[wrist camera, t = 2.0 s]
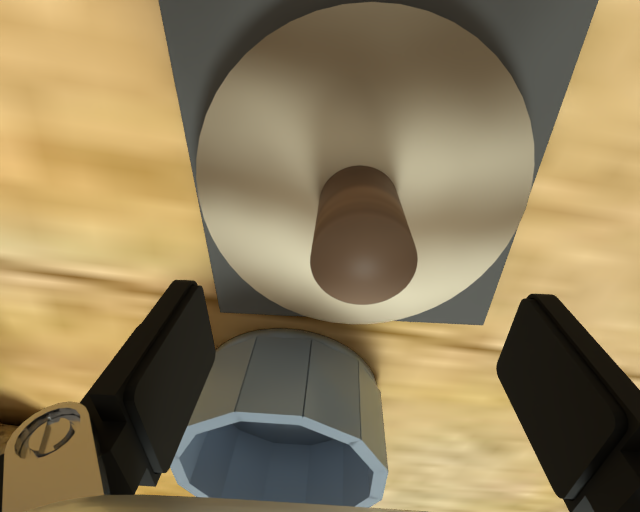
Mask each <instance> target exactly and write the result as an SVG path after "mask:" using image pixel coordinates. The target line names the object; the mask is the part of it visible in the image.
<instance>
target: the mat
mask: <svg viewBox="0 0 640 512" xmlns="http://www.w3.org/2000/svg"><path fill="white" fill-rule="evenodd" d="M364 2H381V3H393V4H402V5H406V6H410V7H414V8H418V9H422V10H426V11H429V12H432V13H434V14H436V15H439V16H441V17H443V18H446V19H448V20H450V21H452V22H454V23H456V24H457V25H459V26H460V27H462V28H463V29H465V30H467V31H468V32H470V33H471V34H473V35H474V36H476V37H477V38H478V39H479V40H480V41H481V42H482V43H483V44H484V45H486V46H487V47H488V48H489V49H490V50H491V51H492V52H493V53H494V54H495V55H496V56H497V57H498V59H499V60H500V61H501V63H502V64H503V65H504V67H505V68H506V69H507V70H508V72H509V73H510V74H511V76H512V78H513V80H514V82H515V84H516V85H517V87H518V89H519V91H520V93H521V95H522V97H523V100H524V103H525V106H526V109H527V112H528V115H529V118H530V121H531V127H532V133H533V139H534V173H533V180H532V186H533V183H534V180H535V178H536V175H537V172H538V169H539V166H540V164H541V161H542V158H543V155H544V152H545V149H546V147H547V144H548V141H549V138H550V135H551V133H552V130H553V127H554V124H555V121H556V119H557V116H558V113H559V110H560V107H561V104H562V102H563V99H564V96H565V93H566V90H567V88H568V85H569V82H570V79H571V76H572V73H573V71H574V68H575V65H576V62H577V59H578V57H579V54H580V51H581V48H582V45H583V42H584V40H585V37H586V34H587V31H588V28H589V26H590V23H591V20H592V17H593V14H594V11H595V9H596V6H597V3H598V0H159V5H160V10H161V15H162V20H163V25H164V31H165V36H166V41H167V46H168V51H169V56H170V61H171V66H172V71H173V76H174V81H175V86H176V91H177V96H178V101H179V106H180V111H181V116H182V121H183V126H184V131H185V136H186V141H187V146H188V152H189V157H190V162H191V167H192V172H193V177H194V182H195V187H196V192H197V197H198V189H197V181H196V157H197V151H198V144H199V137H200V133H201V130H202V127H203V123H204V120H205V116H206V114H207V111H208V109H209V107H210V105H211V103H212V100H213V98H214V96H215V94H216V92H217V91H218V89H219V88H220V86H221V84H222V83H223V81H224V80H225V78H226V77H227V75H228V74H229V72H230V71H231V70H232V69H233V68H234V67H235V65H236V64H237V63H238V62H239V61H240V60H241V59H242V57H243V56H244V55H245V54H246V53H247V52H248V51H249V50H251V49H252V48H253V47H254V46H255V45H257V44H258V43H259V42H260V41H261V40H263V39H264V38H265V37H266V36H268V35H269V34H271V33H272V32H274V31H276V30H277V29H279V28H281V27H282V26H284V25H285V24H287V23H289V22H291V21H293V20H295V19H298V18H300V17H303V16H305V15H307V14H310V13H312V12H314V11H318V10H322V9H326V8H330V7H334V6H338V5H342V4H351V3H364ZM531 189H532V188H531ZM530 192H531V191H530ZM198 202H199V197H198ZM199 207H200V212H201V217H202V222H203V227H204V232H205V237H206V242H207V247H208V252H209V257H210V262H211V267H212V272H213V278H214V283H215V288H216V293H217V298H218V303H219V308H220V312H224V313H244V314H265V315H285V316H304V315H301V314H298V313H296V312H293V311H291V310H288V309H286V308H284V307H282V306H280V305H278V304H276V303H275V302H273V301H271V300H269V299H268V298H266V297H265V296H263V295H262V294H260V293H259V292H258V291H256V290H255V289H254V288H253V287H251V286H250V285H249V284H248V283H247V282H246V281H244V280H243V279H242V278H241V277H240V276H239V275H238V273H237V272H236V271H235V270H234V269H233V268H232V267H231V266H230V265H229V263H228V262H227V260H226V259H225V258H224V256H223V255H222V254H221V252H220V251H219V249H218V247H217V245H216V244H215V242H214V240H213V238H212V236H211V234H210V232H209V230H208V227H207V225H206V222H205V220H204V217H203V213H202V209H201V206H200V202H199ZM518 226H519V225H518ZM516 231H517V230H516ZM516 231H515V233H514V235H513V236H512V238H511V240H510V241H509V243H508V245H507V246H506V248H505V249H504V250H503V252H502V253H501V254H500V256H499V257H498V258H497V260H496V261H495V262H494V263H493V264H492V265H491V266H490V267H489V268H488V269H487V270H486V271H485V273H484V274H483V275H482V276H481V277H479V278H478V279H477V280H476V281H475V282H473V283H472V284H471V285H470V286H469V287H467V288H466V289H465V290H463V291H462V292H460V293H459V294H457V295H456V296H454V297H453V298H451V299H449V300H447V301H446V302H444V303H442V304H440V305H438V306H436V307H434V308H432V309H429V310H427V311H424V312H422V313H419V314H417V315H413V316H410V317H406V318H403V319H399V320H394V321H407V322H427V323H448V324H468V325H483V324H484V321H485V318H486V316H487V313H488V310H489V307H490V304H491V302H492V299H493V296H494V293H495V290H496V287H497V285H498V282H499V279H500V276H501V273H502V271H503V268H504V265H505V262H506V259H507V256H508V254H509V251H510V248H511V245H512V242H513V240H514V237H515V234H516ZM305 317H307V316H305Z"/></svg>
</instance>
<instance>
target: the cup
mask: <svg viewBox="0 0 640 512" xmlns="http://www.w3.org/2000/svg"><path fill="white" fill-rule="evenodd" d="M170 468H171V470H172V472H173V475H174V477H175V479H176V481H177V484H178V485H180V486H181V487H183V488H184V489H186V490H187V491H189V492H190V493H192V494H193V495H195V496H196V497H207V498H224V499H240V500H256V501H273V502H289V503H305V504H321V505H336V506H351V507H366V508H369V507H371V506H372V505H374V504H376V503H377V502H379V501H381V500H382V497H383V493H384V488H385V484H386V479H387V475H388V464H387V454H386V443H385V433H384V423H383V412H382V402H381V392H380V390H379V389H378V387H377V383H376V380H375V377H374V374H373V373H372V371H371V369H370V368H369V366H368V365H367V364H366V363H365V361H364V360H363V359H362V358H361V357H360V356H358V355H357V354H356V353H355V352H354V351H352V350H351V349H349V348H348V347H346V346H345V345H343V344H341V343H339V342H337V341H335V340H333V339H330V338H328V337H325V336H322V335H319V334H316V333H312V332H307V331H302V330H295V329H264V330H257V331H252V332H248V333H245V334H242V335H239V336H237V337H235V338H233V339H230V340H229V341H227V342H226V343H224V344H223V345H221V346H220V347H219V348H218V349H217V350H216V351H215V361H214V363H213V366H212V368H211V371H210V373H209V375H208V378H207V380H206V383H205V385H204V387H203V390H202V392H201V395H200V397H199V399H198V402H197V404H196V407H195V409H194V411H193V414H192V416H191V418H190V421H189V423H188V426H187V428H186V430H185V433H184V435H183V438H182V440H181V442H180V445H179V447H178V450H177V452H176V454H175V457H174V459H173V461H172V464H171V466H170Z"/></svg>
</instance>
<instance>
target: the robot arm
mask: <svg viewBox="0 0 640 512" xmlns="http://www.w3.org/2000/svg"><path fill="white" fill-rule="evenodd" d="M214 361H215V346H214V341H213V336H212V331H211V326H210V321H209V316H208V311H207V306H206V301H205V296H204V291H203V288H202V286H197V283H196V282H195V281H190V280H174V281H173V282H172V283H171V285H170V286H169V287H168V289H167V290H166V291H165V293H164V294H163V295H162V297H161V298H160V299H159V301H158V302H157V303H156V305H155V306H154V307H153V309H152V310H151V311H150V313H149V314H148V315H147V317H146V318H145V319H144V321H143V322H142V323H141V324H140V325H139V326H138V327H137V328H136V329H135V330H134V332H133V333H132V334H131V336H130V337H129V338H128V340H127V341H126V342H125V344H124V345H123V346H122V348H121V349H120V350H119V352H118V353H117V354H116V356H115V357H114V358H113V360H112V361H111V362H110V364H109V365H108V366H107V367H106V369H105V370H104V371H103V373H102V374H101V375H100V377H99V378H98V379H97V381H96V382H95V383H94V385H93V386H92V387H91V389H90V390H89V391H88V393H87V394H86V395H85V397H84V398H83V399H82V401H81V402H80V403H77V402H63V403H58V404H55V405H52V406H49V407H46V408H44V409H43V410H41V411H39V412H37V413H35V414H34V415H32V416H31V417H30V418H28V419H27V420H25V421H24V422H23V423H22V424H21V425H20V426H19V427H18V428H17V429H16V430H15V431H14V432H13V434H12V435H11V437H10V439H9V440H8V442H7V445H6V448H5V452H4V454H2V455H0V512H426V511H411V510H396V509H381V508H366V507H351V506H336V505H321V504H305V503H289V502H273V501H256V500H240V499H224V498H207V497H183V496H160V495H134V494H135V492H136V490H137V488H138V486H139V485H140V486H155V487H156V485H157V482H158V480H159V478H160V475H161V473H166V472H167V471H168V470H169V468H170V466H171V464H172V461H173V459H174V457H175V454H176V452H177V450H178V447H179V445H180V442H181V440H182V438H183V435H184V433H185V430H186V428H187V426H188V423H189V421H190V418H191V416H192V414H193V411H194V409H195V407H196V404H197V402H198V399H199V397H200V395H201V392H202V390H203V387H204V385H205V383H206V380H207V378H208V375H209V373H210V371H211V368H212V366H213V363H214ZM496 369H497V375H498V378H499V380H500V382H501V384H502V386H503V388H504V390H505V392H506V394H507V396H508V398H509V400H510V402H511V404H512V406H513V408H514V410H515V412H516V414H517V417H518V419H519V421H520V423H521V425H522V427H523V429H524V431H525V433H526V435H527V437H528V439H529V441H530V443H531V445H532V447H533V449H534V451H535V454H536V456H537V458H538V460H539V462H540V464H541V466H542V468H543V470H544V472H545V474H546V476H547V478H548V480H549V482H550V484H551V486H552V488H553V490H554V492H555V494H556V495H557V496H558V497H559V498H562V499H563V500H564V502H565V504H566V506H567V508H568V510H569V512H640V390H639V389H638V388H637V387H636V385H635V384H634V383H633V382H632V381H631V380H630V379H629V378H628V376H627V375H626V374H625V373H624V372H623V371H622V370H621V369H620V367H619V366H618V365H617V364H616V363H615V362H614V361H613V360H612V358H611V357H610V356H609V355H608V354H607V353H606V352H605V351H604V349H603V348H602V347H601V346H600V345H599V344H598V343H597V342H596V341H595V339H594V338H593V337H592V336H591V335H590V334H589V333H588V332H587V330H586V329H585V328H584V327H583V326H582V325H581V324H580V323H579V321H578V320H577V319H576V318H575V317H574V316H573V315H572V314H571V312H570V311H569V310H568V309H567V308H566V307H565V306H564V305H563V303H562V302H561V301H560V300H559V299H558V298H557V297H556V296H555V295H549V294H530V295H529V296H528V297H527V299H523V300H522V301H521V302H520V305H519V307H518V310H517V313H516V315H515V318H514V321H513V323H512V326H511V328H510V331H509V334H508V336H507V339H506V341H505V344H504V347H503V349H502V352H501V355H500V357H499V360H498V362H497V368H496Z"/></svg>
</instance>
